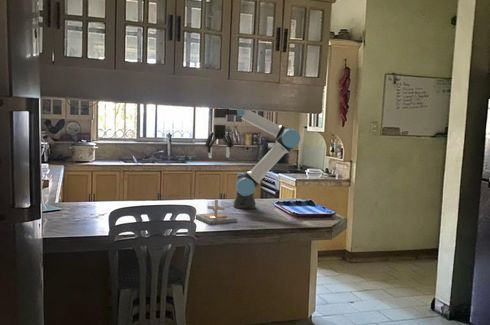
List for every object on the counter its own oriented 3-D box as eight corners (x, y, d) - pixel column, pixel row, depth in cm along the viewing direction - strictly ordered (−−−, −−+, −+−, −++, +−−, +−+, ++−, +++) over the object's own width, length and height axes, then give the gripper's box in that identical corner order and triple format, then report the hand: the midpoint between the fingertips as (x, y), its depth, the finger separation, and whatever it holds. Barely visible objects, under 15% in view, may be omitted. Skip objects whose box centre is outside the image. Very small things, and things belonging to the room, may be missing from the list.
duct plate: (220, 215, 282) (220, 212, 282) (236, 221, 267) (236, 218, 267) (194, 217, 272) (194, 214, 272) (209, 224, 257) (209, 221, 257)
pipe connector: (222, 219, 263) (222, 202, 262) (205, 217, 265) (206, 200, 264) (225, 215, 273) (226, 198, 272) (209, 213, 275) (210, 197, 274)
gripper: (232, 124, 303) (231, 156, 306) (200, 124, 289) (199, 157, 291) (239, 125, 297) (238, 157, 300) (206, 124, 283) (205, 158, 285)
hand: (219, 157), depth 295 cm, fingers open, 13 cm apart
